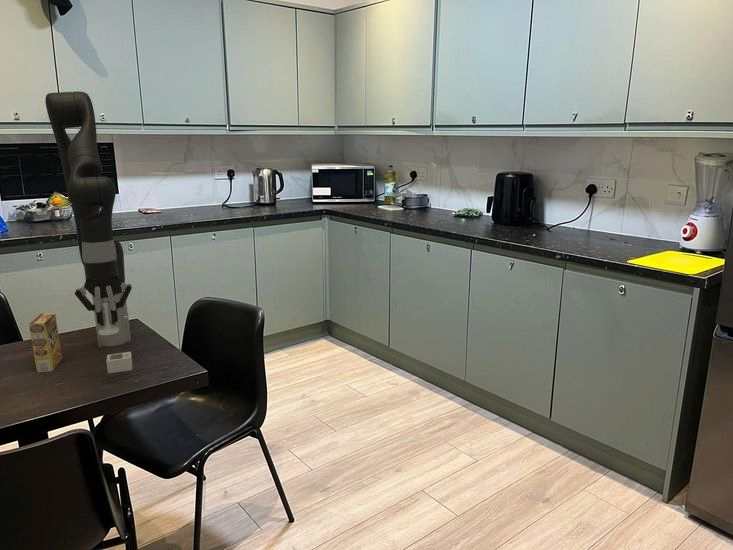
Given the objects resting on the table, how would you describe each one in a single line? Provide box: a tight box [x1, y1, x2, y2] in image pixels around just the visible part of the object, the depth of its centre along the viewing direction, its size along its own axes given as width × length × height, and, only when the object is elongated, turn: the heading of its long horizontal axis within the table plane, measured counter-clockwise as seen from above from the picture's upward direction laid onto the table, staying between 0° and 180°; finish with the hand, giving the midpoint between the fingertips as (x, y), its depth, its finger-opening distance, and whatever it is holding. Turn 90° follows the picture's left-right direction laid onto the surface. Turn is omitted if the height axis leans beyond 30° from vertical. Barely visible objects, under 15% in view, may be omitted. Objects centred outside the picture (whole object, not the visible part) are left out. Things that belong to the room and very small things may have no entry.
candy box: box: [28, 312, 63, 373], centre depth 150 cm, size 9×4×15 cm, turn 13°
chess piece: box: [98, 298, 119, 335], centre depth 139 cm, size 5×5×10 cm
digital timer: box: [106, 351, 133, 375], centre depth 149 cm, size 6×5×4 cm
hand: (108, 324), depth 140 cm, fingers closed on chess piece
